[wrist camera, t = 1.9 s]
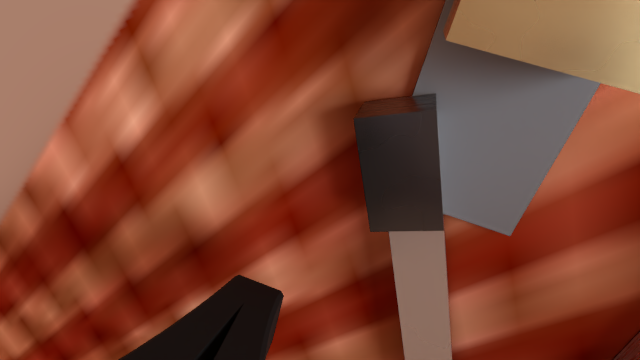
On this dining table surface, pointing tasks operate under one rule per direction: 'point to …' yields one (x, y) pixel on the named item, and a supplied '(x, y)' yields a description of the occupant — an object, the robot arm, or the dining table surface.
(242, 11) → the dining table surface
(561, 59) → the block
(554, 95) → the plate
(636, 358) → the dark-tipped long bar
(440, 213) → the tong arm
